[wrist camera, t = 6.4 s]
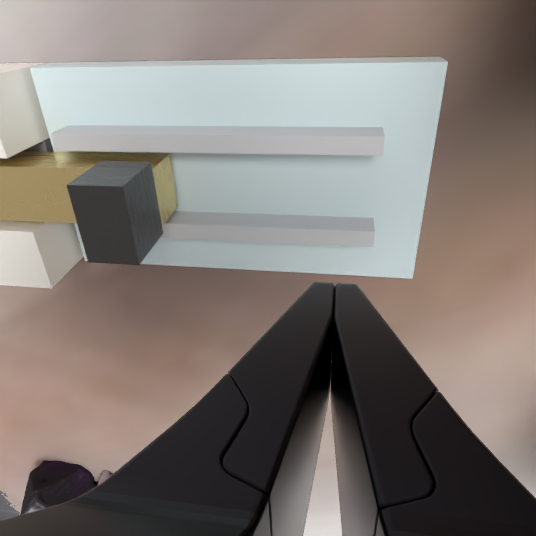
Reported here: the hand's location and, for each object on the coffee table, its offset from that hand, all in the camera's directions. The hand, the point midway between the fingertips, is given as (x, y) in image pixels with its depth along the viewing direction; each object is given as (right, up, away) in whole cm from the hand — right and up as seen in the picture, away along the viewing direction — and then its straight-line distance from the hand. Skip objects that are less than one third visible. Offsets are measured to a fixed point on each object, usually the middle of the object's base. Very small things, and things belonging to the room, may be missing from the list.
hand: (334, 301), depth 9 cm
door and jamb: (-6, +5, +12) cm, 14 cm away
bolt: (-10, +5, +11) cm, 16 cm away
